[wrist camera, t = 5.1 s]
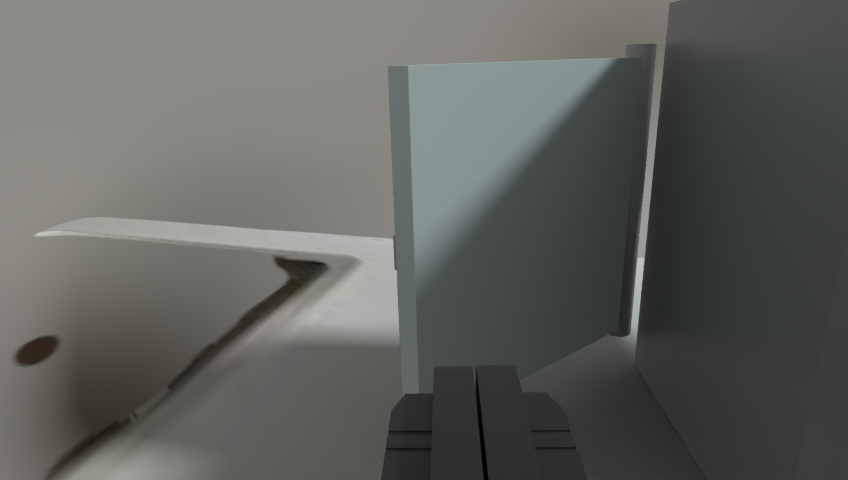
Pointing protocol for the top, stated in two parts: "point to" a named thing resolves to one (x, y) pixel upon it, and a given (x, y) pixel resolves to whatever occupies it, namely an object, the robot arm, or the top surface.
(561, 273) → the side door
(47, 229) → the top surface
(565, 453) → the robot arm
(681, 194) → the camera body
